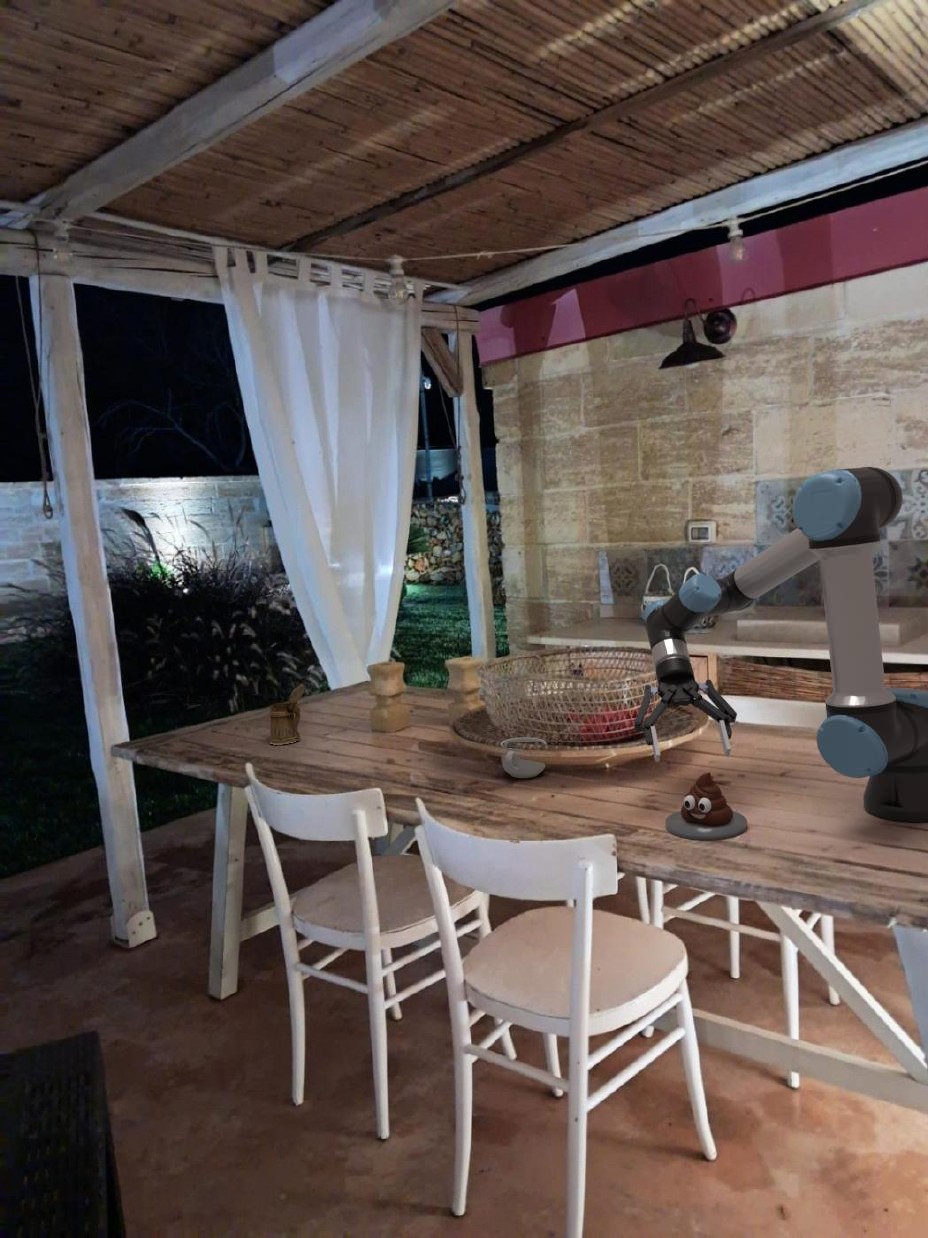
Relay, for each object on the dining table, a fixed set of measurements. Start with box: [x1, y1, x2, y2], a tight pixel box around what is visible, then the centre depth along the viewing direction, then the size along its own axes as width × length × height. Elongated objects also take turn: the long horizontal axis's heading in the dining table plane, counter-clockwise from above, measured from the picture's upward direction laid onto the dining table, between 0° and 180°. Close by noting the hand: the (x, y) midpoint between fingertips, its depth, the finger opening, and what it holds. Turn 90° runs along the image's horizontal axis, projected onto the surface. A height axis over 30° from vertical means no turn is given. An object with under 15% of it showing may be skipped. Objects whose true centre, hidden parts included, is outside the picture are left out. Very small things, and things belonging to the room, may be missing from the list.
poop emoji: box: [680, 772, 734, 826], centre depth 176 cm, size 10×8×9 cm
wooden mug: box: [268, 682, 306, 743], centre depth 272 cm, size 9×14×18 cm, turn 61°
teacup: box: [499, 736, 547, 779], centre depth 218 cm, size 14×11×8 cm
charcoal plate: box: [665, 810, 748, 842], centre depth 176 cm, size 15×15×1 cm
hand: (692, 755), depth 180 cm, fingers open, 13 cm apart
